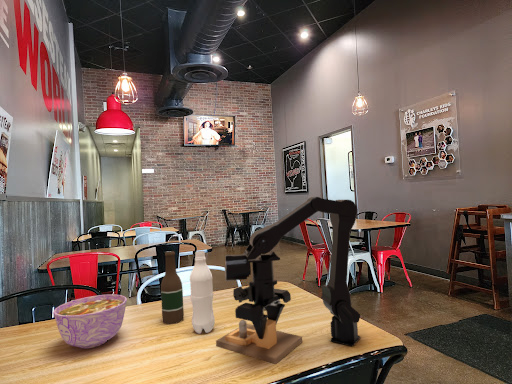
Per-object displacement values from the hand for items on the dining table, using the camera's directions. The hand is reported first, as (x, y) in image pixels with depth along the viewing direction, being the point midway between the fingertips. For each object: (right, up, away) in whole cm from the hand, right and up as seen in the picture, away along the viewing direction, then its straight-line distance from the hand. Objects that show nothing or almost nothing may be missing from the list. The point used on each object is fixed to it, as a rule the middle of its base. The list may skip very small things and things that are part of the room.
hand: (266, 335), depth 87 cm
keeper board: (-2, -4, +4) cm, 6 cm away
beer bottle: (-32, -6, +26) cm, 41 cm away
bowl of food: (-52, -7, +11) cm, 54 cm away
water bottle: (-20, -6, +15) cm, 25 cm away
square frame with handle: (-4, -3, +3) cm, 5 cm away
